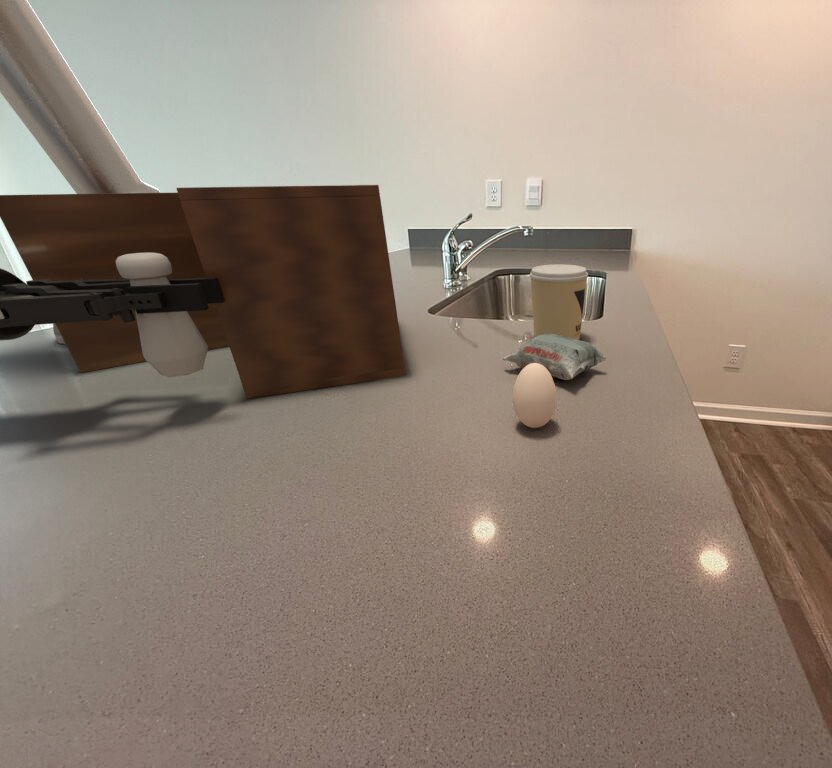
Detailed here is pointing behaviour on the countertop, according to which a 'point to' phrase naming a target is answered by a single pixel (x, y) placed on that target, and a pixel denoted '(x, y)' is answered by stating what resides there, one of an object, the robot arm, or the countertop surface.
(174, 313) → the salt shaker
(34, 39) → the robot arm
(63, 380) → the countertop surface
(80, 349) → the cupboard door
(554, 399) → the egg
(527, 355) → the packaged food
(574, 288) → the coffee cup
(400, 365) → the wooden board
